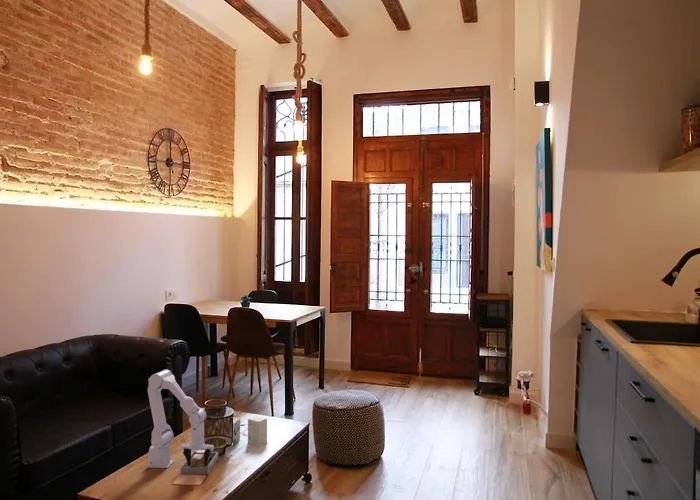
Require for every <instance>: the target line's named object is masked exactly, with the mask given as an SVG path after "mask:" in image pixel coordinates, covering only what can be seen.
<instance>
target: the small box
mask: <svg viewBox="0 0 700 500" xmlns="http://www.w3.org/2000/svg"><path fill="white" fill-rule="evenodd" d="M267 443H268V418H266V417H262V416H258V415H254V416H251V417H249V418H247V444H249V445H252V446H256V447H261V446H263V445H265V444H267Z"/></svg>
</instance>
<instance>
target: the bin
mask: <svg viewBox="0 0 700 500" xmlns="http://www.w3.org/2000/svg"><path fill="white" fill-rule="evenodd" d="M197 451H198V450H193V452H191V458H192V457H193V456H194V455H195V454H196V452H197ZM209 459H211V460H210V462H208V464H207V465H206V466H205V467H204V468H202V467H191V466H188V463H187V460H186V459H185V462H184V463H183V464H182V465H181V466H180V474H182V475H206V476H207V475H208V474H209V473H210V471H211V470H212V468H213V467H214V466H215V464H216V463H217V461H218V460H219V451H211V453H210V455H209Z"/></svg>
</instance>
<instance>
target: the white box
mask: <svg viewBox="0 0 700 500" xmlns="http://www.w3.org/2000/svg"><path fill="white" fill-rule="evenodd" d="M196 451H197V452H196V454H204V452H205V450H196ZM209 461H210V458H208V462H209Z"/></svg>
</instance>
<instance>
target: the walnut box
mask: <svg viewBox="0 0 700 500" xmlns="http://www.w3.org/2000/svg"><path fill="white" fill-rule="evenodd" d="M190 467H202V468H205V466H204V454H195V455H194V456H193V457H192V458H191V464H190Z"/></svg>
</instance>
